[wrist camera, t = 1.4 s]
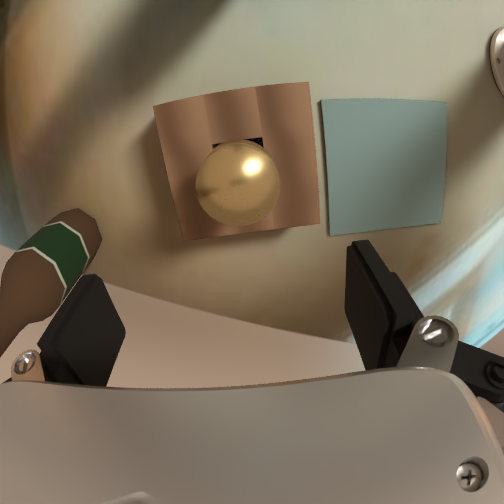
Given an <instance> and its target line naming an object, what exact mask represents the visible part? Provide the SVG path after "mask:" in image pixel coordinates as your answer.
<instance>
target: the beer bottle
mask: <svg viewBox="0 0 504 504" xmlns="http://www.w3.org/2000/svg"><path fill="white" fill-rule="evenodd" d="M101 241H102V237H101V235H100V232H99V229H98V226H97V224H96V221H95V219H94V218H92V217H91V216H89V215H88V214H86V213H85V212H83V211H82V210H80V209H78V208H77V209H73V210H69V211H65V212H62V213H60V214H58V215H57V216H56V217H54V218H53V219H52V220H51V221H49V222H48V223H47V224H46V225H45V226H44V227H42V228H41V229H40V230H39V231H38V232H37V233H36V234H34V235H33V236H32V237H31V238H30V239H29V240H28V241H27V242H26V243H25V244H23V245H22V246H21V247H20V248H19V249H18V250H17V251H16V252H15V253H14V254H13V256H12V257H11V258H10V259H9V260H8V262H7V263H6V265H5V268H4V270H3V273H2V277H1V287H0V357H1V356H2V354H3V353H4V352H5V350H6V349H7V348H8V346H9V345H10V344H11V342H12V341H13V340H14V339H15V337H16V336H17V335H18V333H19V332H20V331H21V330H22V329H23V328H24V327H25V326H26V325H28V324H29V323H34V322H39V321H43V320H44V319H46V318H48V317H49V316H51V315H52V314H53V313H54V312H55V311H56V310H57V308H58V307H59V306H60V304H61V303H62V302H63V300H64V299H65V297H66V296H67V294H68V293H69V292H70V290H71V289H72V287H73V286H74V284H75V283H76V282H77V280H78V279H79V278H80V276H81V275H82V273H83V272H84V271H85V269H86V268H87V267H88V265H89V264H90V263H91V261H92V260H93V258H94V256H95V254H96V252H97V250H98V248H99V246H100V243H101Z"/></svg>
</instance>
